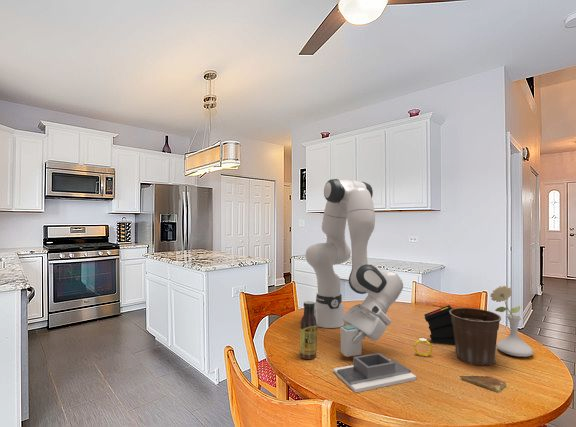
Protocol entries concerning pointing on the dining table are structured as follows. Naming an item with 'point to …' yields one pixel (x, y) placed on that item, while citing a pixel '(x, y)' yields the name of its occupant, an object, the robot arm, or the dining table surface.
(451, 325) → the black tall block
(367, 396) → the dining table surface
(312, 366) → the dining table surface
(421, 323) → the dining table surface
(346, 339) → the module block
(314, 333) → the sauce bottle
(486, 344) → the plant pot
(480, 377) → the shard
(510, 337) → the flower in vase
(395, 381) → the rail holder
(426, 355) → the watch
